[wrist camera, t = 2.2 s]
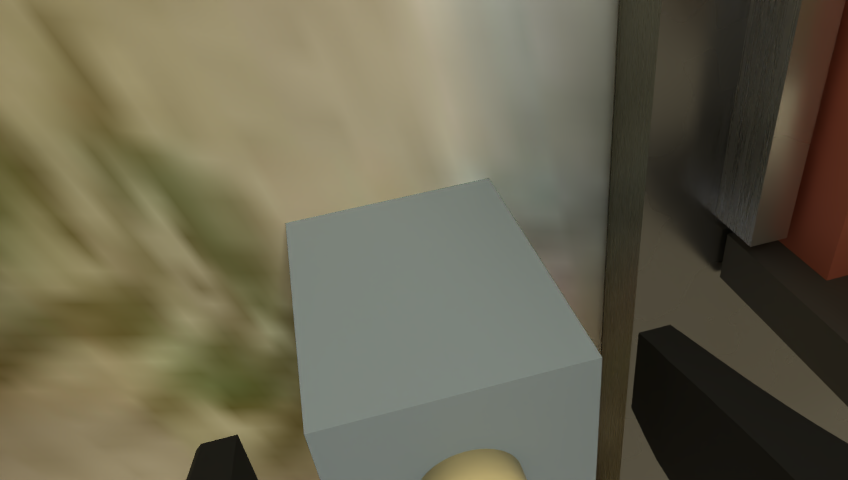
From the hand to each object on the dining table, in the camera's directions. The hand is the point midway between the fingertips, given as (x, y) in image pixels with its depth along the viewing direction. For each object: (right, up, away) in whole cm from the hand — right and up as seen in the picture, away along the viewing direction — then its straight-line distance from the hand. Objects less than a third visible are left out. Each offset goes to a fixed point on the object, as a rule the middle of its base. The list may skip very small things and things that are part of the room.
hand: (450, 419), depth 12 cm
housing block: (-1, +2, +4) cm, 4 cm away
